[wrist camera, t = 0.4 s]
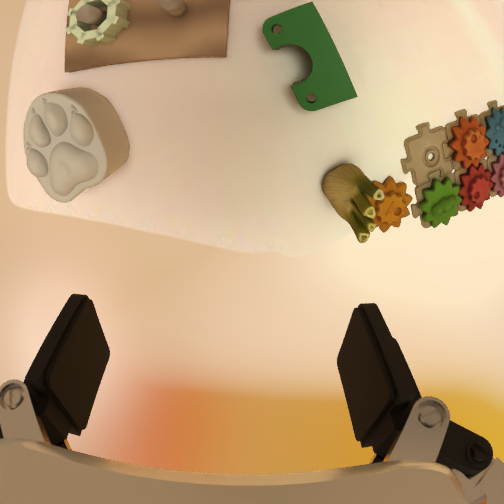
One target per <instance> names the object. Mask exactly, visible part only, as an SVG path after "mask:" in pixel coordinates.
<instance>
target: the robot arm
mask: <svg viewBox="0 0 504 504" xmlns="http://www.w3.org/2000/svg"><path fill="white" fill-rule="evenodd" d="M109 356H110V350H109V347H108V344H107V341H106V339H105V336H104V333H103V330H102V328H101V325H100V322H99V319H98V316H97V313H96V310H95V307H94V304H93V301H92V300H90V299H89V298H88V296H87V295H80V294H72V295H71V296H70V297H69V299H68V301H67V302H66V304H65V306H64V307H63V309H62V311H61V312H60V314H59V316H58V317H57V319H56V321H55V322H54V324H53V326H52V328H51V330H50V331H49V333H48V335H47V337H46V338H45V340H44V342H43V344H42V346H41V347H40V349H39V351H38V353H37V355H36V357H35V359H34V361H33V363H32V365H31V367H30V369H29V371H28V373H27V375H26V377H25V380H24V382H21V381H19V380H9V381H7V382H5V383H4V384H2V385H1V387H0V504H504V463H503V462H502V461H501V460H500V459H499V458H496V459H494V458H493V450H492V447H491V445H490V443H489V442H488V441H487V440H486V439H485V438H483V437H481V436H479V435H477V434H475V433H473V432H472V431H470V430H468V429H465V428H464V427H462V426H460V425H458V424H456V423H454V422H452V421H450V413H449V410H448V408H447V406H446V405H445V404H444V403H443V402H442V401H441V400H439V399H438V398H435V397H427V396H426V397H423V398H422V397H421V395H420V393H419V391H418V388H417V386H416V383H415V381H414V378H413V376H412V374H411V371H410V369H409V367H408V364H407V362H406V360H405V358H404V355H403V353H402V351H401V349H400V347H399V344H398V342H397V341H396V339H394V338H392V336H391V333H390V331H389V329H388V327H387V325H386V323H385V321H384V319H383V317H382V315H381V312H380V310H379V308H378V306H377V305H376V304H375V303H369V304H360V305H359V306H358V308H355V309H354V311H353V313H352V316H351V319H350V323H349V325H348V328H347V331H346V334H345V337H344V340H343V343H342V346H341V349H340V351H339V355H338V358H337V366H338V370H339V374H340V377H341V381H342V385H343V389H344V393H345V397H346V401H347V405H348V409H349V413H350V417H351V421H352V425H353V430H354V433H355V438H356V440H357V441H360V442H361V446H362V448H363V447H369V446H372V447H373V451H374V453H375V454H374V456H373V458H372V460H371V461H370V463H369V464H366V465H359V466H353V467H346V468H338V469H330V470H320V471H311V472H299V473H285V474H248V475H247V474H246V475H245V474H212V473H198V472H186V471H176V470H168V469H160V468H153V467H146V466H140V465H134V464H129V463H123V462H118V461H113V460H109V459H104V458H100V457H96V456H92V455H88V454H84V453H80V452H76V451H72V450H71V448H70V445H69V443H68V441H67V436H68V433H71V434H74V435H78V436H80V435H81V431H82V430H84V429H85V428H86V426H87V423H88V419H89V416H90V413H91V410H92V407H93V404H94V400H95V398H96V394H97V391H98V388H99V385H100V383H101V380H102V377H103V374H104V371H105V368H106V365H107V363H108V360H109Z"/></svg>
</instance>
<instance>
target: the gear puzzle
mask: <svg viewBox="0 0 504 504" xmlns="http://www.w3.org/2000/svg"><path fill="white" fill-rule="evenodd" d="M487 105H488V107H489V110H487V111H485V112H482V113H481V114H480V115H479V116H478V115H477V114H474V115H471V116H468V117H467V111H466V110H465V109H463V110H460V111H457V112H455V116H456V118H457V120H456V121H454V122H450V123H448V124H446V125H445V128H444V127H442V126H439V127H436V128H433V129H431V130H430V129H429V123H428V122H426V123H422V124H419V125H417V126H416V129H417V130H418V134H416V135H414V136H411V137H409V138H407V139H405V141H404V146H405V150H406V154H407V158H406V159H401V165H402V169H403V172H404V173H405V174H407V173H408V172H409V171H411V174H412V181H413V183H414V184H415V185H416V187H415V195H416V200H417V203H416V204H411V211H412V215H413V217H414V218H417V217H418V216H419V215H420V220H421V225H422V226H423V227H424V228H428V227H430V226H433V227H434V228H435V227H437V226H438V225H439V224H440V223H441V222H442V223H443V224H445V225H447V224H448V223H449V220H450V217H451V216H456V215H457V214H458V211H464V210H466V209H467V210H468V211H472V210H473V209H474V208H475V207H477V208H479V209H481V208H482V206H483V202H484V201H485V200H488V199H490V196H491V197H494V196H495V195H499V196H500V197H502V196H503V195H504V105H503V106H500V107H497V101H496V100H494V101H491V102H488V103H487ZM430 153H432V154H433V157H432V159H431V160H429V159H428V155H429V154H430ZM486 156H488V157H487V160H485V159H484V158H485V157H486ZM453 169H455V171H454V174H453V173H451V172H452V170H453ZM374 184H375V185H376V186H378V187H379V188H381V189H382V190H383V192H384V199H383V200H382V201H381V200H375V199H373V198H371V197H370V196H369V195H367V194H365V195H366V196H367V198H368V199H369V201H370V202H371V204H372V205H373V207H374V209H375V213H376V215H375V217H374V218H371V219H372V220H373V221H374V222H375V223H376V225H377V226H376V227H378V226H379V228H380V230H381V231H382V232H386V231H387V230H388V229H389V227H390V226H391V225H393V226H394V227H399V226H400V223H401V218H403V217H406V216H408V215H410V213H409V210H408V208H407V205H409V203H410V202H411V200H412V197H411V196H410V195H408V194H406V187H407V186H406V184H405V183H404V182H401V183H398V184H397V185H396V183H395V181H394V179H393V178H392V177H388V179H387V180H386V181H385V183H384V184H381V183H379V182H377V181H374Z"/></svg>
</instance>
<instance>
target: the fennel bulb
mask: <svg viewBox="0 0 504 504" xmlns="http://www.w3.org/2000/svg"><path fill="white" fill-rule="evenodd" d="M322 189H323V192H324V194H325V195H326V197H327V198H328V199H329V201H330V203H331V205H332V206H333V208H334V209H335V210H336V212H337V213H338V214H339V215H340V216H341V217H342V218H343V219H344V220H346V221H347V222H348V223H349V224H350V226H351V227H352V229H353V231H354V233H355V235H356V237H357V239H358V241H359V242H360V243H364V242H366V241H367V240H368V238H369V236H370V233H369V231H370V232H372V231H373V230H374V229H375V228H376V226H377V225H376V223H375V222H374V221H373V220H372V219H371V218H374V217H375V215H376V213H375V209H374V207H373V205H372V204H371V202H370V201H369V199H368V198H367V196H366V195H365V193H366V194H367V195H369V196H370V197H371V198H373V199H375V200H381V201H382V200H383V199H384V192H383V190H382V189H381V188H379V187H378V186H376V185H375V184H374V183H373V182H372V181H370V180H369V179H368V178H367V177H366V176H365V175H364V173H363V172H362V171H361V169H360V168H358V167H357V166H355V165H354V164H345V165H341V166H339V167H337V168H335V169H333V170H332V171H330V172H329V173H328V174H327V175H326V176H325V178H324V180H323V185H322Z"/></svg>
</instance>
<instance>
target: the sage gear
mask: <svg viewBox="0 0 504 504" xmlns="http://www.w3.org/2000/svg"><path fill="white" fill-rule="evenodd" d="M86 4H87V5H91V6H93V7H96V8H100V7H104V6H108V9H107V18H106V20H105V21H104V22H103V23H102V24H101V25H100V26H99V27H98V28H97V29H95V30H92V29H91V24H89V23H85V22H81V21H78V20H77V19H76V12H77V10H78V9H79V8H80V7H81V6H83V5H86ZM129 9H131V6H130V4H129V2H127V1H125V0H80V1H79V3H78V4H77V5H76V6H75V7H74V8H70V9H69V12H68V14H67V15H68V16H70V23H69V27H68V28H66V31H67V34H68V35H72V36H76V37H77V38H78V41H77V43H81V44H87V45H94V46H97V44H98V42H105V43H112V42H114V41H115V40H116V37H115V36H116V35H117V34H118V33H119V32H120V31H121V30H122V29H123V28H128V26H129V24H130V21H127V12H128V10H129Z"/></svg>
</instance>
